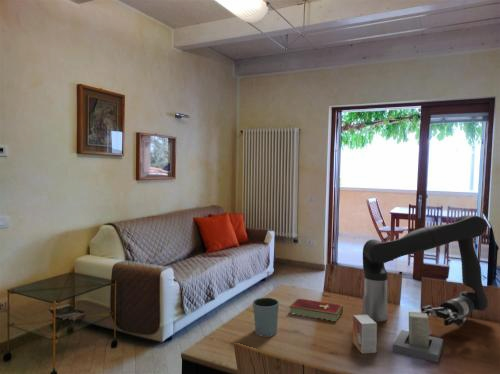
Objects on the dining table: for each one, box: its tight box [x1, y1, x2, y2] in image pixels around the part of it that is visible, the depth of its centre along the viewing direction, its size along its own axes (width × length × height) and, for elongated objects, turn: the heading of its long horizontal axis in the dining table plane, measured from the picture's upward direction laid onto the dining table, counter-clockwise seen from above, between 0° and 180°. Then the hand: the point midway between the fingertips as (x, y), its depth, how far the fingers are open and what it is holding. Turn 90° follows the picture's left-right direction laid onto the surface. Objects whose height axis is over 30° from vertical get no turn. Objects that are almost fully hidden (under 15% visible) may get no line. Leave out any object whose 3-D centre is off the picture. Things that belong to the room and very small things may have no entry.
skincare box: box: [408, 311, 430, 349], centre depth 128 cm, size 6×4×12 cm
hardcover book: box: [289, 298, 344, 322], centre depth 161 cm, size 12×21×4 cm, turn 64°
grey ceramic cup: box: [252, 297, 280, 337], centre depth 142 cm, size 10×10×12 cm
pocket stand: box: [392, 329, 444, 363], centre depth 128 cm, size 14×14×2 cm
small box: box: [352, 314, 378, 354], centre depth 128 cm, size 8×6×10 cm
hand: (433, 319), depth 134 cm, fingers open, 8 cm apart
